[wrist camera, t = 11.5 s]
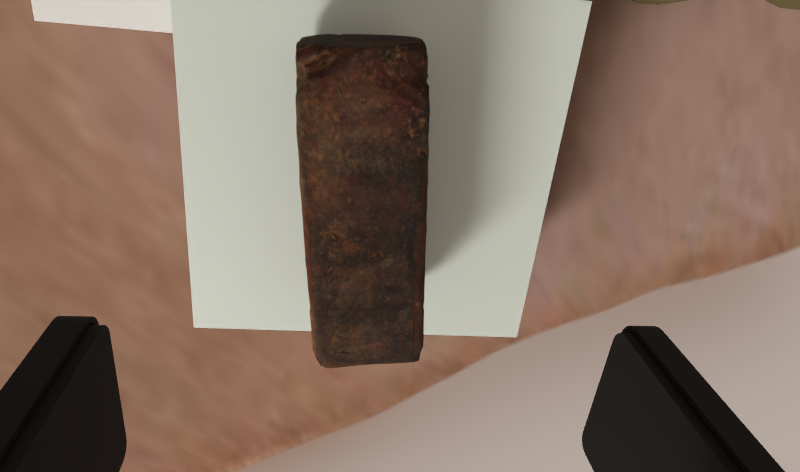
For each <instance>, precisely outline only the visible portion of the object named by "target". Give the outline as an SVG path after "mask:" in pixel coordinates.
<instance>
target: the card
mask: <svg viewBox="0 0 800 472" xmlns="http://www.w3.org/2000/svg"><path fill="white" fill-rule="evenodd" d="M31 3H32V9H33V15H34V20H35V21H45V22H56V23H67V24H78V25H90V26H101V27H112V28H123V29H134V30H146V31H157V32H168V33H173V29H172V15H171V1H170V0H31Z"/></svg>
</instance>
